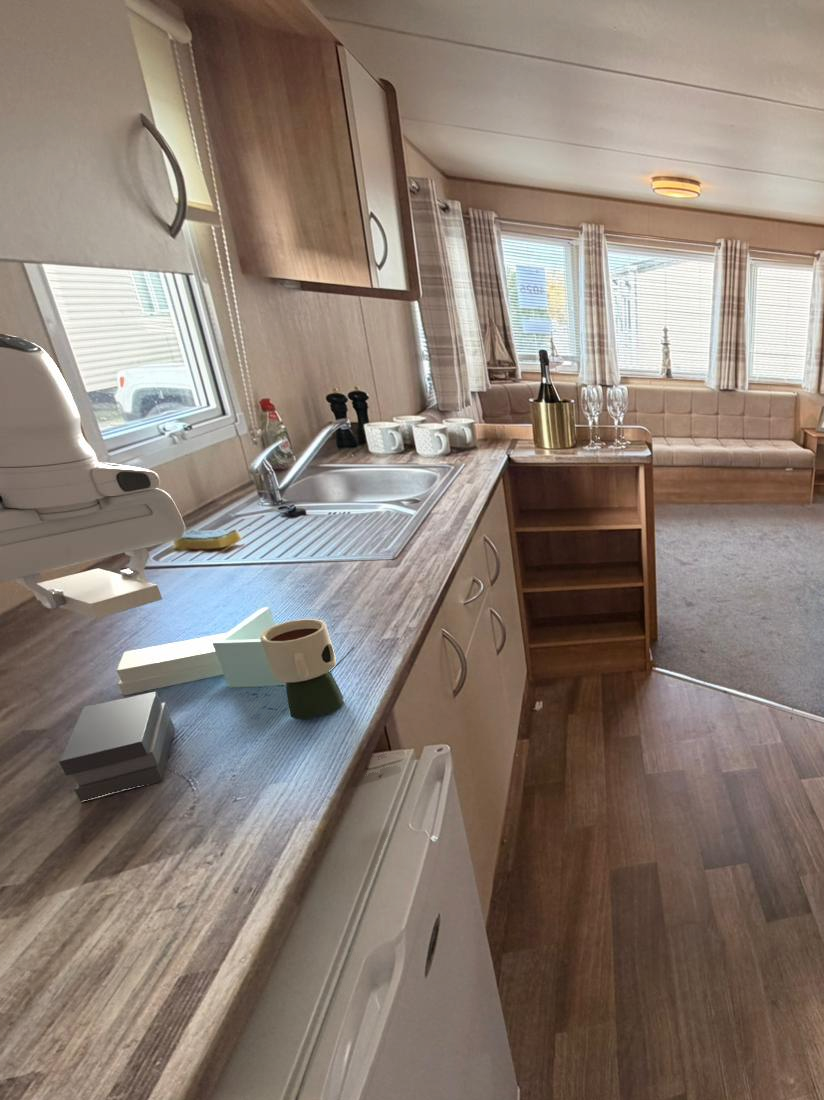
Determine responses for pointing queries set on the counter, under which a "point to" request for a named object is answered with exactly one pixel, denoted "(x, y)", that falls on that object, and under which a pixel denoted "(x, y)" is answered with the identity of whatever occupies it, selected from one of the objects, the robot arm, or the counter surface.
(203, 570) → the counter surface
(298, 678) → the character mug
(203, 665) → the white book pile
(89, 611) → the cream flat block
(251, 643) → the l-shaped corner panel
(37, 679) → the counter surface
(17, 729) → the counter surface
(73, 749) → the grey book pile
